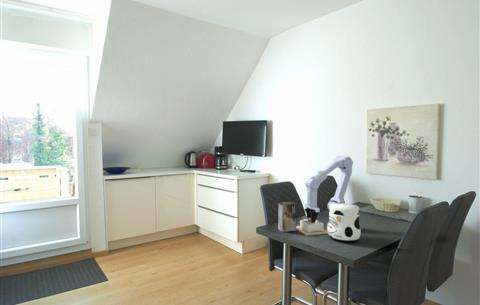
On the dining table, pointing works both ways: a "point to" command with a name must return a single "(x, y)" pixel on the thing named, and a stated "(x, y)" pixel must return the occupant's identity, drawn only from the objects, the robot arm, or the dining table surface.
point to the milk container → (344, 222)
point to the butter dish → (311, 227)
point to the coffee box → (287, 216)
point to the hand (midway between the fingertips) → (311, 221)
